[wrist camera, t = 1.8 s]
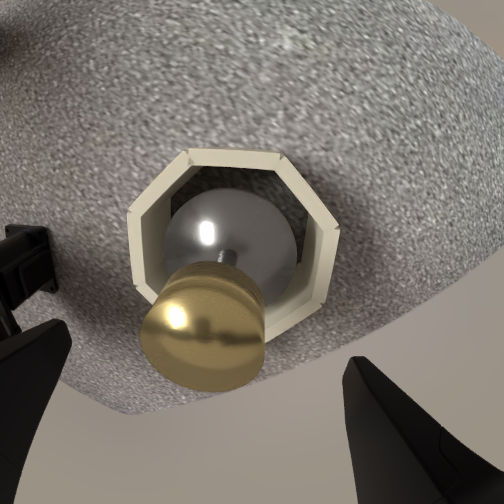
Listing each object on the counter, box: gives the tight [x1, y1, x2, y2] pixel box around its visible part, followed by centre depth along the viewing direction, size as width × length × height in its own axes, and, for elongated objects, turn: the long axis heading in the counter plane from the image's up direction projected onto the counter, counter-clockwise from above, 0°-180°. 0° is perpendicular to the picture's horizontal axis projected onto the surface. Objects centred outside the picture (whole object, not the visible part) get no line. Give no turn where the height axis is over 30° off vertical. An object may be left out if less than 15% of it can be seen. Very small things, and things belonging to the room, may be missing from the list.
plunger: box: [140, 187, 297, 392], centre depth 11 cm, size 7×7×8 cm
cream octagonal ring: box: [127, 146, 340, 343], centre depth 17 cm, size 11×13×5 cm
